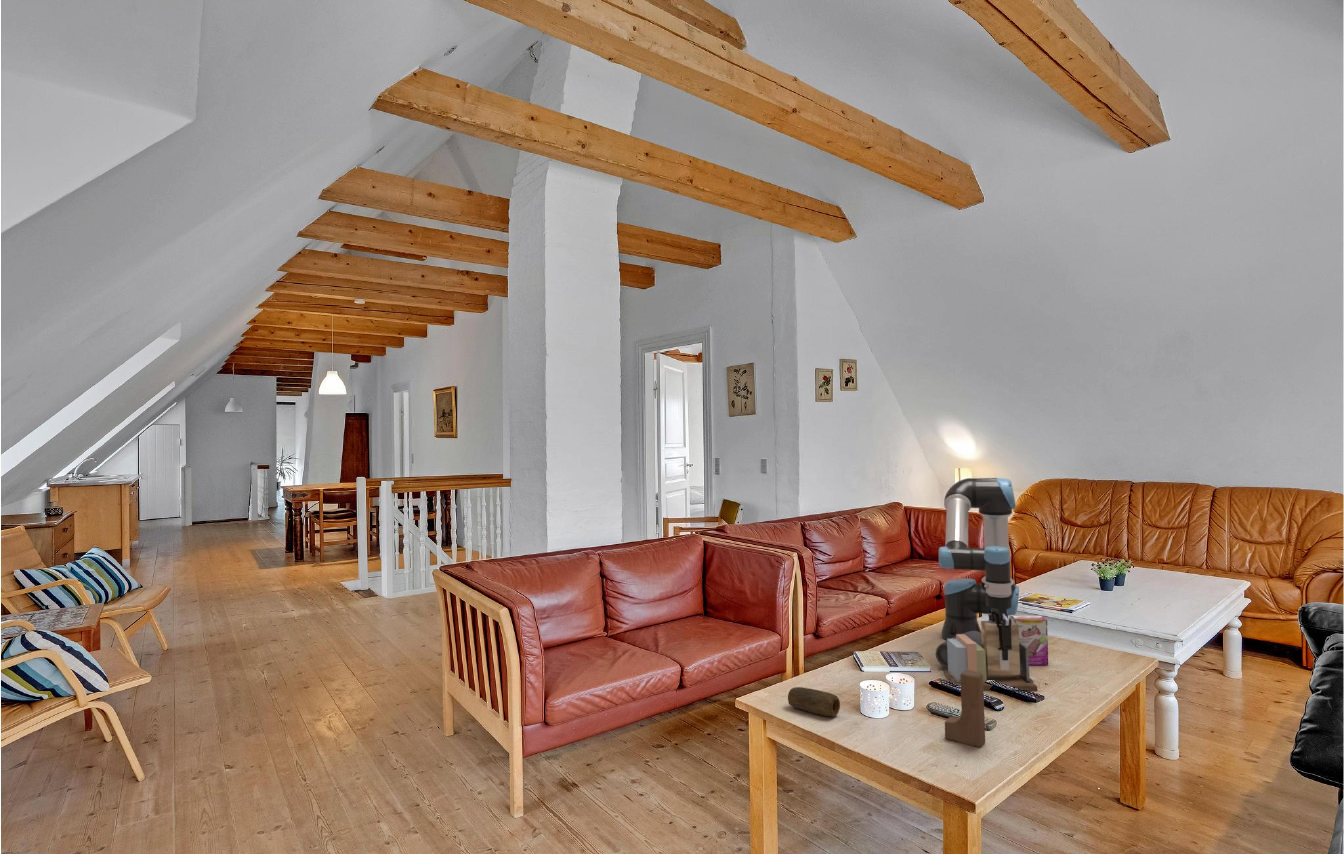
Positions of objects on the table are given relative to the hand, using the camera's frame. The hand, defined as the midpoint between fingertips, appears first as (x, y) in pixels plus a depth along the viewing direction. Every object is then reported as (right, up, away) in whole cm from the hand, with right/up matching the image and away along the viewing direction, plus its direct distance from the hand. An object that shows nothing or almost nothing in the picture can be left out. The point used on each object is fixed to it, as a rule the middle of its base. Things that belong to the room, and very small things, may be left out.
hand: (1001, 666), depth 217 cm
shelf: (-4, -5, 0) cm, 6 cm away
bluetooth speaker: (-4, -6, +19) cm, 21 cm away
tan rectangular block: (0, -2, 0) cm, 2 cm away
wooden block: (-30, -5, -42) cm, 51 cm away
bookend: (+7, -3, -1) cm, 8 cm away
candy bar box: (+19, -6, +18) cm, 27 cm away
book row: (-10, -4, +1) cm, 11 cm away
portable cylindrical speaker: (-65, -6, -20) cm, 69 cm away
